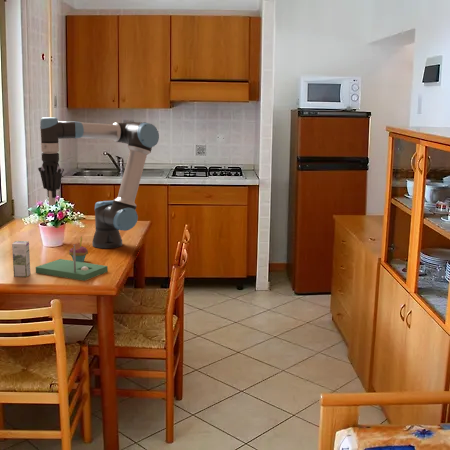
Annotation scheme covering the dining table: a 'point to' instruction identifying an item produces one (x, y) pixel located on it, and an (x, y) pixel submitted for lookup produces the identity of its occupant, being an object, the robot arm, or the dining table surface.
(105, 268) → the putting mat
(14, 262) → the syrup box
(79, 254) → the cupcake
